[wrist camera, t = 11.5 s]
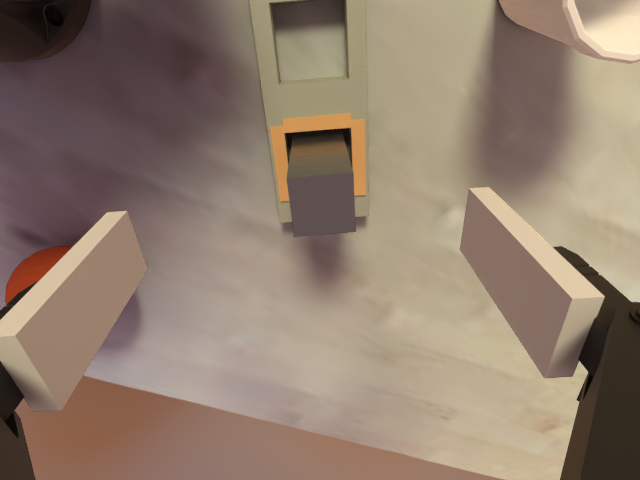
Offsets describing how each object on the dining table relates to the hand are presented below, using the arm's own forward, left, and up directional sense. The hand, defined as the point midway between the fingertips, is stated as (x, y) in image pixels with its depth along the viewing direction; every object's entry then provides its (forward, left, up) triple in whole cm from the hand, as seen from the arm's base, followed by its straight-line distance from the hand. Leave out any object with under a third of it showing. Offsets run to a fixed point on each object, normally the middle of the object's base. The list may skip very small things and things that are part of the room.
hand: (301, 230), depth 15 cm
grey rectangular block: (+1, -4, -24) cm, 24 cm away
